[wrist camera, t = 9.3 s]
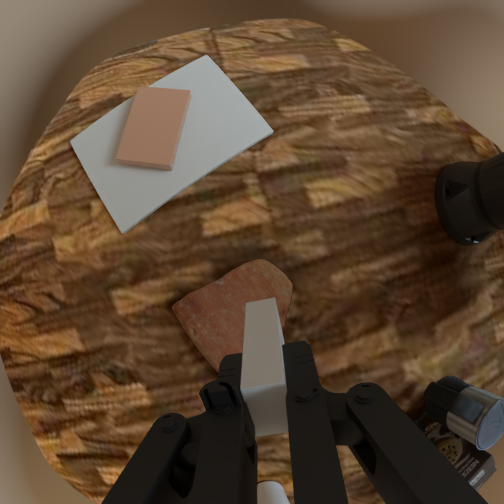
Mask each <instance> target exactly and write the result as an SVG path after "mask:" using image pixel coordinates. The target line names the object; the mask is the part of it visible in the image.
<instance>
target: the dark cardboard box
mask: <svg viewBox="0 0 504 504" xmlns="http://www.w3.org/2000/svg"><path fill="white" fill-rule="evenodd" d="M427 438H428V439H429V440H430V441H431V442H432V443H433V444H434V445H435V446H436V447H437V448H438V450H439V451H440V452H441V453H442V454H443V455H444V456H445V457H446V458H447V459H448V460H449V462H450V463H451V464H452V465H453V466H454V467H455V468H456V469H457V470H458V471H459V472H460V474H461V475H462V476H463V477H464V478H465V479H466V480H467V481H468V482H469V483H470V484H471V486H472V487H473V488H474V489H475V490H476V491H477V490H478V489H479V488H480V487H481V486H482V485H483V484H484V483H485V482H486V481H487V480H488V479H489V478H490V477H491V476H492V474H493V473H494V472H495V471H496V470H497V469H496V466H495V461H494V459H493V456H492V455H491V454H489V453H488V452H486V451H484V450H478V449H477V447H476V445H474V444H473V443H471V442H469V441H468V440H466V439H464V438H463V437H461V436H459V435H458V434H456V433H454V432H453V431H451V430H450V429H448V428H446V427H445V426H443V425H441V424H438V425H437V426H436V427H435V428H434V429H433V430H432V431H431V432H430V433H429V434H428V435H427Z"/></svg>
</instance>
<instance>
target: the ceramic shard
mask: <svg viewBox="0 0 504 504" xmlns="http://www.w3.org/2000/svg"><path fill="white" fill-rule="evenodd" d="M292 291H293V286H292V283H291V281H290V280H289V279H288V278H287V276H286V275H285V274H284V273H283V272H282V271H281V270H279V269H278V268H276V267H275V266H274V265H273V264H271V263H270V262H268V261H267V260H264V259H256V260H252V261H249V262H247V263H244V264H242V265H241V266H239V267H237V268H235V269H234V270H232V271H230V272H229V273H226V274H225V275H224V276H223V277H221V278H220V279H218V280H216V281H213V282H212V283H209V284H208V285H206V286H204V287H201V288H199V289H197V290H195V291H193V292H191V293H189V294H187V295H186V296H185V297H184V298H182V299H181V300H180V301H177V302H176V303H175V304H174V305H173V307H172V309H173V311H174V313H175V315H176V317H177V318H178V320H179V322H180V324H181V325H182V327H183V328H184V330H185V331H186V333H187V335H188V336H189V337H190V339H191V340H192V342H193V343H194V344H195V346H196V347H197V349H198V350H199V351H200V353H201V354H202V355H203V356H204V357H205V359H206V360H207V361H208V362H209V363H210V364H211V366H212V367H213V368H214V369H215V370H216V371H217V372H219V365H220V362H221V361H222V359H223V358H224V357H225V355H230V354H236V353H242V352H243V342H244V328H245V313H246V303H248V302H254V301H259V300H264V299H269V298H274V297H275V300H276V305H277V310H278V314H279V319H280V324H281V328H282V330H283V327H284V325H285V323H286V316H287V312H288V310H289V306H290V302H291V298H292Z"/></svg>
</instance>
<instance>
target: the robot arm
mask: <svg viewBox="0 0 504 504" xmlns="http://www.w3.org/2000/svg"><path fill="white" fill-rule="evenodd" d="M435 201H436V207H437V211H438V215H439V217H440V220H441V222H442V224H443V226H444V228H445V229H446V231H447V232H448V234H449V235H450V236H451V237H452V238H453V239H454V240H456V241H457V242H459V243H461V244H464V245H473V244H479V243H481V242H483V241H485V240H486V239H488V238H489V237H491V236H492V235H494V234H495V233H496V232H498V231H499V230H502V229H504V152H503V153H501V154H499V155H496V156H494V157H491V158H489V159H487V160H485V161H482V162H464V161H460V162H455V163H453V164H451V165H449V166H447V167H445V168H444V169H443V170H442V171H441V173H440V174H439V176H438V179H437V182H436V187H435ZM199 395H200V397H201V399H202V402H203V404H204V406H205V408H206V411H205V412H204V413H202V414H200V415H198V416H195V417H191V418H188V419H185V417H184V416H182V415H181V414H178V413H169V414H166V415H163V416H161V417H160V418H158V419H157V420H156V421H155V422H154V424H153V425H152V427H151V428H150V430H149V432H148V433H147V435H146V436H145V438H144V439H143V441H142V442H141V444H140V445H139V447H138V448H137V450H136V451H135V453H134V455H133V456H132V458H131V459H130V461H129V462H128V464H127V465H126V467H125V468H124V470H123V471H122V473H121V474H120V476H119V477H118V479H117V480H116V482H115V484H114V485H113V487H112V488H111V490H110V491H109V493H108V494H107V496H106V497H105V499H104V500H103V502H102V503H101V504H257V444H256V441H255V432H256V435H257V436H265V435H272V434H279V433H285V432H289V443H290V454H291V465H292V477H293V489H294V501H295V504H348V499H347V494H346V490H345V485H344V480H343V475H342V471H341V466H340V462H339V457H338V453H337V448H336V445H348V447H349V448H350V450H351V452H352V453H353V455H354V456H355V458H356V459H357V461H358V462H359V464H360V465H361V467H362V468H363V470H364V472H365V473H366V475H367V476H368V478H369V479H370V481H371V482H372V484H373V485H374V487H375V488H376V490H377V491H378V493H379V494H380V496H381V497H382V499H383V500H384V502H385V503H386V504H488V503H487V502H486V501H485V500H484V499H483V498H482V496H481V495H480V494H479V493H478V492H477V491H476V490H475V489H474V488H473V487H472V486H471V484H470V483H469V482H468V481H467V480H466V479H465V478H464V477H463V476H462V475H461V474H460V472H459V471H458V470H457V469H456V468H455V467H454V466H453V465H452V464H451V463H450V462H449V460H448V459H447V458H446V457H445V456H444V455H443V454H442V453H441V452H440V451H439V450H438V448H437V447H436V446H435V445H434V444H433V443H432V442H431V441H430V440H429V439H428V438H427V436H426V435H425V434H424V433H423V432H422V431H421V430H420V429H419V428H418V427H417V426H416V424H415V423H414V422H413V421H412V420H411V419H410V418H409V417H408V416H407V415H406V414H405V413H404V411H403V410H402V409H401V408H400V407H399V406H398V405H397V404H396V403H395V402H394V401H393V400H392V398H391V397H390V396H389V395H388V394H387V393H386V392H385V391H384V390H383V389H382V388H381V387H380V386H378V385H377V384H374V383H360V384H357V385H355V386H353V387H352V388H350V389H349V391H348V392H347V393H332V392H329V391H327V390H325V389H324V388H323V387H322V386H321V384H320V382H319V378H318V374H317V370H316V366H315V362H314V358H313V354H312V350H311V346H310V345H309V344H308V343H306V342H305V341H299V342H294V343H289V344H284V338H283V333H282V328H281V324H280V319H279V314H278V310H277V305H276V300H275V297H274V298H269V299H264V300H259V301H254V302H248V303H246V313H245V328H244V342H243V352H242V353H236V354H230V355H225V357H224V358H223V359H222V361H221V362H220V365H219V372H218V378H217V380H215V381H212V382H210V383H208V384H206V385H205V386H204V387H203V388H202V389H201V390H200V392H199Z"/></svg>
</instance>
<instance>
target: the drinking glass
mask: <svg viewBox="0 0 504 504" xmlns="http://www.w3.org/2000/svg"><path fill="white" fill-rule="evenodd" d="M257 504H290V502H289V500H288V498H287V496H286V494H285V492H284V489H283V487H282V485H281V484H279V483H277V482H274V481H265V482H261V483H259V484H257Z"/></svg>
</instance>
